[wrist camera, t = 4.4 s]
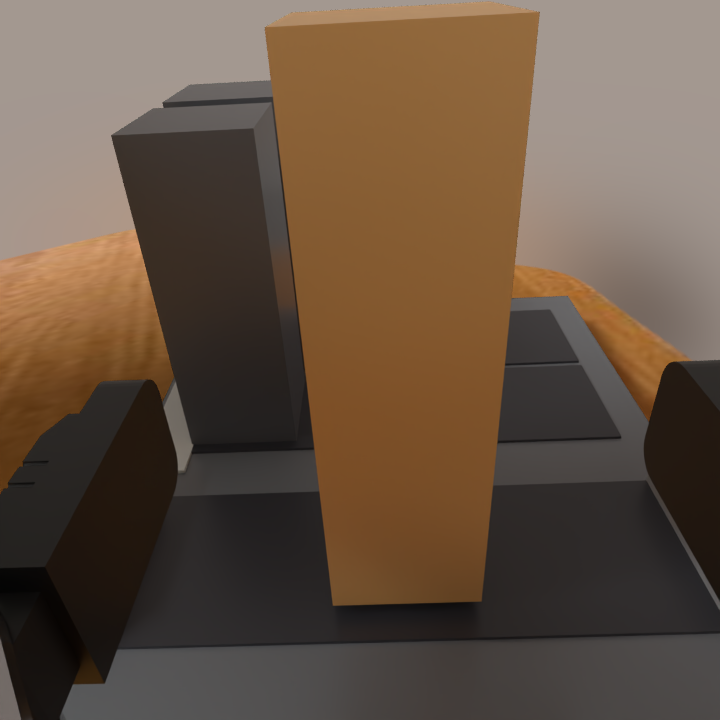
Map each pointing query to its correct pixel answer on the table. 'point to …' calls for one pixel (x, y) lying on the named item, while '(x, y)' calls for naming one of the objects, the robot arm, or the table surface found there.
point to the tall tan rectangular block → (404, 275)
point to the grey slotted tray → (303, 505)
